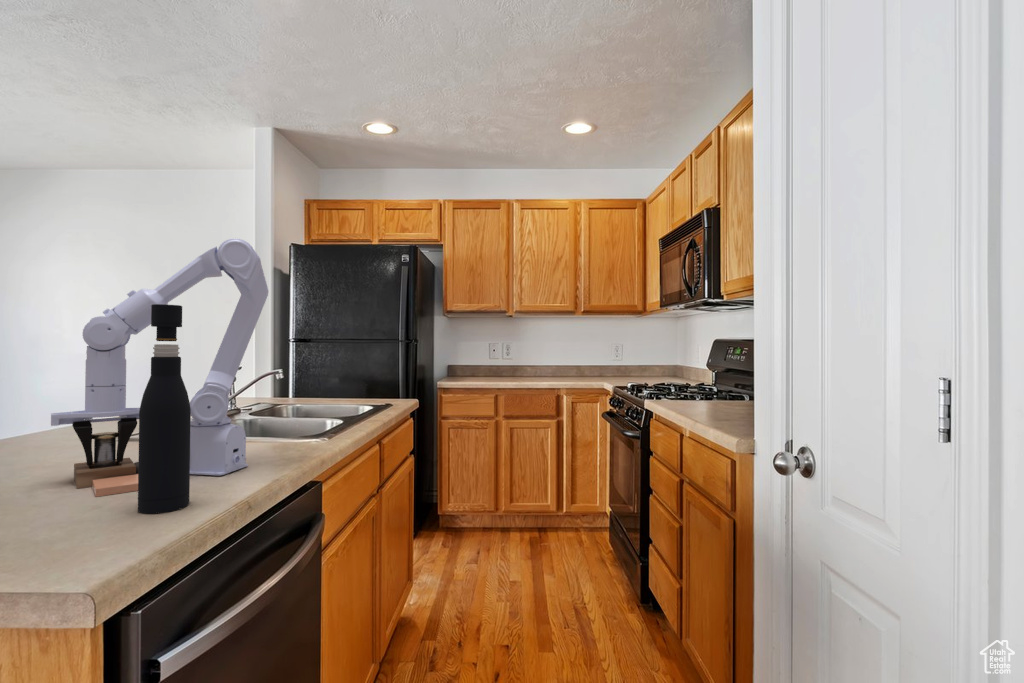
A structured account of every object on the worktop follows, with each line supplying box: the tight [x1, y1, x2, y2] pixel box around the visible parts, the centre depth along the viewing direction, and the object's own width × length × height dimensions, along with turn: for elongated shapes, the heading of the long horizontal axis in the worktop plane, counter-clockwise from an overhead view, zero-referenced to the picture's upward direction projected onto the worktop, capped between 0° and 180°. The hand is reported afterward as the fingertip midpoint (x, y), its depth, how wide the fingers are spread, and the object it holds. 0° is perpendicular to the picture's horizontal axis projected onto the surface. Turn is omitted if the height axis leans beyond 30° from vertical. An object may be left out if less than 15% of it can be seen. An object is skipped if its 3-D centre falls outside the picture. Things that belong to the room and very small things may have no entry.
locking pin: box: [92, 431, 119, 469], centre depth 93 cm, size 4×4×8 cm
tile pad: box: [91, 474, 138, 497], centre depth 88 cm, size 7×7×1 cm
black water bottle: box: [137, 304, 192, 515], centre depth 78 cm, size 6×6×30 cm
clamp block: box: [73, 457, 139, 490], centre depth 94 cm, size 9×10×2 cm
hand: (104, 462), depth 93 cm, fingers closed on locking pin, 4 cm apart
